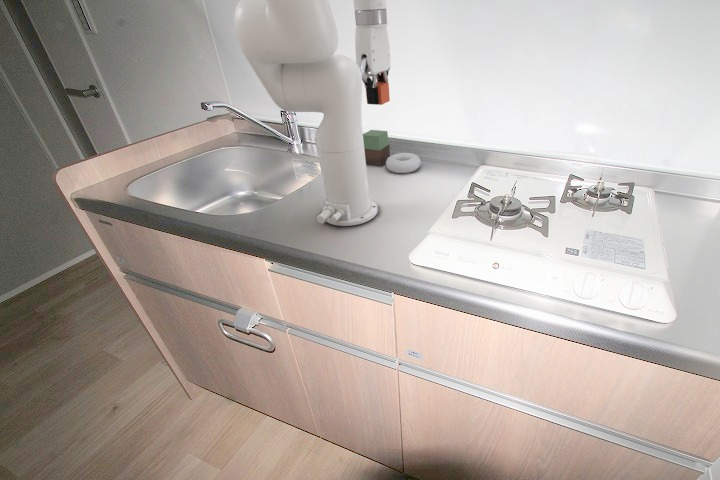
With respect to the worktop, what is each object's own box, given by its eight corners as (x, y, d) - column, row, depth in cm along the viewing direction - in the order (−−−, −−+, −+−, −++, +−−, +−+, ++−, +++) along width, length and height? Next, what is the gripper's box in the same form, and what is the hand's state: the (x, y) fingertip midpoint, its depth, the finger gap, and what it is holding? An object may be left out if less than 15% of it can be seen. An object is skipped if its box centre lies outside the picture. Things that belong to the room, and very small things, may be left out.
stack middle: (379, 150, 104) (378, 136, 102) (363, 148, 107) (361, 134, 104) (388, 144, 108) (387, 131, 106) (372, 143, 111) (371, 129, 108)
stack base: (381, 166, 107) (380, 151, 104) (363, 164, 109) (362, 149, 106) (390, 159, 111) (389, 144, 109) (373, 157, 113) (371, 142, 111)
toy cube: (382, 104, 95) (380, 85, 92) (367, 103, 96) (365, 85, 94) (389, 100, 98) (388, 82, 95) (375, 100, 100) (373, 81, 97)
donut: (392, 161, 110) (381, 173, 102) (391, 150, 108) (380, 161, 100) (424, 163, 107) (415, 176, 99) (424, 152, 105) (415, 163, 97)
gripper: (374, 17, 94) (380, 94, 105) (338, 22, 82) (349, 108, 93) (400, 16, 91) (404, 95, 102) (367, 21, 79) (375, 110, 90)
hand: (378, 100), depth 97 cm, fingers closed on toy cube, 4 cm apart
